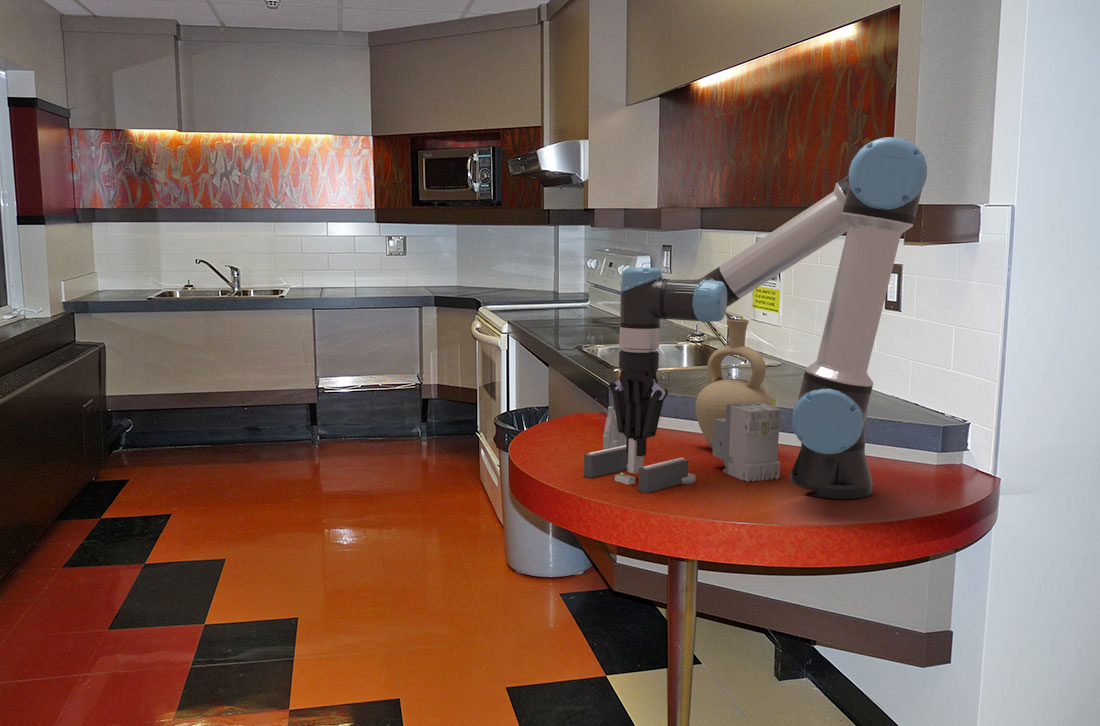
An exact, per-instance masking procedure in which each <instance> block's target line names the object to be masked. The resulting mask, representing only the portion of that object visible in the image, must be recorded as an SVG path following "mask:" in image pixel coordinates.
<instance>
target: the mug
mask: <svg viewBox="0 0 1100 726" xmlns="http://www.w3.org/2000/svg"><path fill="white" fill-rule="evenodd" d="M602 441H603V442H602V443H603V445H602V446H603V450H605V449H610V448H615V447H619V446H624V445H626V436H625V435H624V434H623V433H619V431H618V426H617V419H616V413H615V407H613V406H608V407H607V417H606V419H605V425H604V432H603V434H602Z"/></svg>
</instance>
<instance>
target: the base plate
mask: <svg viewBox="0 0 1100 726" xmlns="http://www.w3.org/2000/svg"><path fill="white" fill-rule="evenodd" d="M614 481H615V482H617V483H622V484H624V485H627V486H628V485H629V486H630V485H633V484H635V483H636V476H633V475H629V474H625V473H624V472H619V473H618V474H617V473H616V474H614Z"/></svg>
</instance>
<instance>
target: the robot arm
mask: <svg viewBox="0 0 1100 726" xmlns="http://www.w3.org/2000/svg"><path fill="white" fill-rule="evenodd" d="M927 175H928V166H927V161H926V158H925V156H924V155H923V152H922V150H920V148H919V147H918V146H917V145H916V144H914V143H912V142H910V141H908V140H907V139H903V138H899V137H895V136H894V137H893V136H890V137H889V136H887V137H880V138H877V139H875V140H872V141H870V142H869V143H866V144H865V145H864V146H863V147H861V148H860V149H859V150H858V152H857V153H856V154H855V155H854V158H853V159H852V160H851V162H850V166H849V170H848V174H847V175H846V176H845V177H843V178H842V179H840V180H839V181H837V182H835V185H834V189H833V191H832V192H830V193H829V194H827V195H826V196H825V197H823V198H822V199H820V200H818V201H816V203H814V204H813V205H811V206H809V207H808V208H806V209H805V210H803V211H802V212H800V213H799V214H797V215H796V216H794V217H793V218H791V219H790V220H788V221H786V222H785V223H784V224H782V225H780V226H779V227H777V228H775V229H774V230H772V231H771V232H769V233H768V234H767V235H765V236H764V237H762V238H761V239H759V240H758V241H756V242H755V243H752V245H750V246H748V247H746V248H745V249H744V250H742V251H740V253H738V254H736V255H735V256H733V257H732V258H730V259H728V260H727V261H726V262H724V263H723V264H721V265H719V266H718V267H716V268H715V269H713V270H712V271H710V272H708V273H707V274H705V275H704V276H703V277H700V278H696V279H695V278H694V279H670V278H664V277H663V275H662V274H663V273H662V270H661V268H658V267H639V266H638V267H636V266H635V267H626V268H625V269H624V270H623V271H622V275H621V283H620V284H621V285H620V291H619V294H620V312H619V313H620V318H619V319H620V320H619V321H620V322H619V339H618V340H619V343H618V345H619V346H618V347H619V348H620V349H621V350H620V351H619V352H618V370H621V374H620V376H619V380H618V379H617V380H616V381H615V382H610V383H609V384H608V386H609V389H610V391H611V394H612V397H613V404H614V411H615V413H616V419H617V426H618V431H619V433H623V434H624V435H625V436H626V452H627V454H628V470H627V472H628V473H631V474H639V468H641V467H644V456H646V455H647V440H648V439H650V438H653V437H656V435H657V430H658V426H659V421H660V417H661V414H662V408H663V405H664V401H665V399H666V398H667V396H668V394H669V392H668V389H666V388H665V389H663V388H662V387H661V386H660V385H659V384H658V382H659V381H658V377H657V372H658V370H659V369H660V368H659V365H660V364H659V363H660V362H659V361H660V353H659V351H658V350H657V349H658V348H660V335H661V334H660V333H661V331H660V329H661V320H666V321H667V320H675V321H687V322H689V321H691V322H701V323H707V322H720V321H721V322H722V320H723V319H724V318H725V315H726V313H727V308H728V307H730V306H731V305H733V304H735V303H736V302H737V301H738V300H741V299H742V298H743V297H745V296H747V295H748V294H750V293H751V292H753V291H754V290H756V289H758V288H759V287H761V286H763V285H764V284H765V283H768V282H770V280H772V279H774V278H775V277H777V276H779V275H780V274H782V273H783V272H785V271H786V270H788V269H790V268H791V267H793V266H794V265H796V264H798V263H799V262H801V261H802V260H804V259H806V257H809V256H810V255H812V254H813V253H815V252H816V251H818V250H820V249H822V248H823V247H824V246H826V245H828V244H829V243H831V242H832V241H834V240H836V239H837V238H839V237H840V236H842V235H844V234H845V233H846V236H845V240H844V243H843V247H842V251H841V256H840V260H839V265H838V269H837V272H836V273H837V274H836V277H835V281H834V286H833V290H832V293H831V298H830V301H829V306H828V311H827V315H826V320H825V324H824V327H823V332H822V337H821V340H820V345H819V349H818V354H817V357H816V360H815V361H814V362H813V363H811V364H809V365H808V366H806V367H805V368H804V369H805V370H804V374H803V379H802V382H801V386H800V390H799V395H798V399H797V401H796V403H795V405H794V406H793V409H792V412H791V423H792V429H793V432H794V434H795V435H796V437H797V439H798V440H799V441H800V449H799V451H798V454H797V456H796V458H795V461H794V464H793V467H792V468H791V472H790V475H789V481H790V483H792V484H793V485H795V486H797V487H800V488H803V489H806V490H811V491H810V492H806V493H805V495H807V496H812V497H818V498H823V499H824V498H825V499H835V500H851V499H852V500H854V499H862V498H863V499H864V498H866V497H869V496H870V495H871V494H873V493H872V492H873V478H872V474H871V471H870V468H869V464H868V460H867V456H866V453H865V451H866V449H865V448H866V435H867V432H866V431H867V418H868V417H867V416H868V407H869V403H870V400H871V395H872V390H873V386H874V382H873V380H872V378H871V377H870V375H869V374H868V370H869V365H870V361H871V357H872V352H873V349H874V345H875V341H876V338H877V337H876V336H877V332H878V329H879V325H880V322H881V316H882V313H883V307H884V305H885V300H886V296H887V292H888V288H889V285H890V284H889V283H890V279H891V276H892V272H893V268H894V264H895V261H896V256H897V252H898V247H899V244H900V241H901V236H902V235H903V233H905V232H906V231H908V230H909V229H911V228H912V227H914V223H915V219H916V215H917V212H918V207H919V203H920V199H921V196H922V192H923V188H924V186H925V183H926V180H927ZM651 396H652V398H651Z"/></svg>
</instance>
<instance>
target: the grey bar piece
mask: <svg viewBox="0 0 1100 726" xmlns="http://www.w3.org/2000/svg"><path fill="white" fill-rule="evenodd" d="M689 463H690V462H689V459H686V458H685V457H678V458H674V459H670V460H664V461H661V462H657V463H653V464H649V465H645V466H644V465H643V467H641V468H639V472H638V486H637V487H638V488H637V491H638V492H641V493H643V494H644V493H645V494H650V493H653V492H658V491H660V490H664V489H668V488H672V487H674V486H675V487H676V486H678V485H691V484H692V485H693V484H695V483H696V478H697V477H696V474H693V473H690V472H689Z"/></svg>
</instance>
